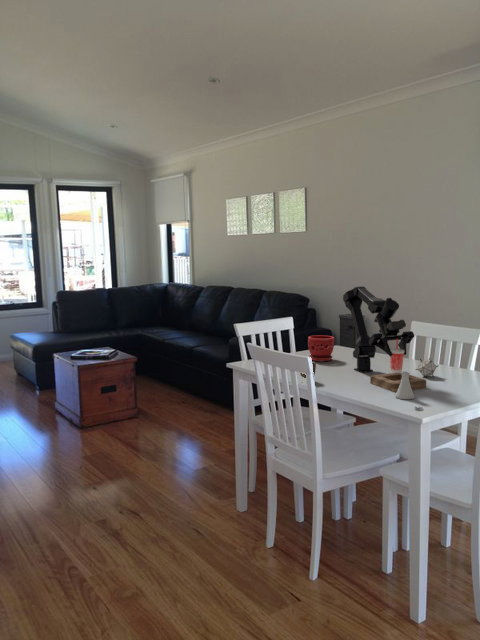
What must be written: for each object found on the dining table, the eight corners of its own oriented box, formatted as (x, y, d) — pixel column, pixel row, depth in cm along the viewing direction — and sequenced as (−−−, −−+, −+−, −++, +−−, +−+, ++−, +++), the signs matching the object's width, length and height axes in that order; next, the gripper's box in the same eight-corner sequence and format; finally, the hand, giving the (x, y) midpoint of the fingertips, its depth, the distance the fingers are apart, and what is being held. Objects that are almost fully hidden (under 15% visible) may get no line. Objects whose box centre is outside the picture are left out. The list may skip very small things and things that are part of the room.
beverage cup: (387, 369, 244) (388, 336, 242) (402, 369, 243) (403, 337, 241) (389, 373, 238) (390, 339, 236) (404, 373, 237) (405, 339, 235)
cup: (305, 384, 246) (305, 365, 245) (295, 380, 253) (295, 362, 252) (319, 381, 250) (319, 363, 248) (309, 378, 256) (309, 360, 255)
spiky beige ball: (430, 385, 255) (439, 370, 248) (411, 378, 256) (420, 363, 249) (432, 372, 261) (441, 357, 255) (414, 364, 263) (423, 350, 256)
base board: (370, 383, 246) (370, 375, 245) (401, 379, 252) (401, 371, 251) (394, 392, 231) (394, 384, 231) (426, 387, 237) (426, 380, 237)
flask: (392, 395, 227) (393, 370, 225) (410, 394, 227) (411, 369, 226) (399, 400, 220) (399, 374, 218) (417, 399, 220) (418, 374, 219)
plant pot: (335, 362, 288) (336, 338, 286) (309, 362, 288) (309, 338, 287) (332, 356, 301) (332, 334, 299) (306, 357, 301) (306, 334, 300)
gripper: (372, 314, 238) (385, 345, 229) (412, 312, 243) (426, 342, 234) (363, 330, 247) (375, 360, 238) (402, 327, 252) (415, 357, 243)
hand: (398, 355), depth 238 cm, fingers closed on beverage cup, 6 cm apart
